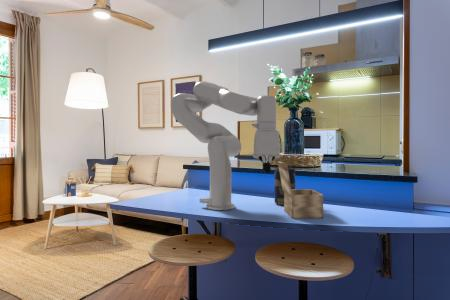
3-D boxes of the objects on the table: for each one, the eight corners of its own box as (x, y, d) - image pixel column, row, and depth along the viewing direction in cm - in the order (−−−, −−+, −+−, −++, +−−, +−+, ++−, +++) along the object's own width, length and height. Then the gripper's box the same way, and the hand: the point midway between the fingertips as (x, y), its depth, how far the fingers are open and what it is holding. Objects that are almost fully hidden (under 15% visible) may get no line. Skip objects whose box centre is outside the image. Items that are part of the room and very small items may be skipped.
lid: (292, 194, 124) (289, 195, 124) (284, 189, 138) (282, 189, 138) (287, 163, 123) (284, 164, 123) (279, 161, 137) (277, 161, 137)
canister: (295, 206, 145) (295, 166, 145) (273, 206, 147) (274, 166, 147) (294, 202, 155) (295, 165, 154) (274, 202, 157) (275, 164, 156)
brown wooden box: (291, 218, 124) (292, 195, 124) (284, 210, 138) (284, 189, 138) (322, 218, 124) (323, 194, 124) (312, 210, 138) (312, 189, 138)
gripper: (248, 126, 125) (249, 173, 126) (287, 126, 126) (287, 173, 126) (246, 127, 133) (247, 172, 133) (283, 127, 133) (283, 171, 134)
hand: (266, 172), depth 130 cm, fingers closed
